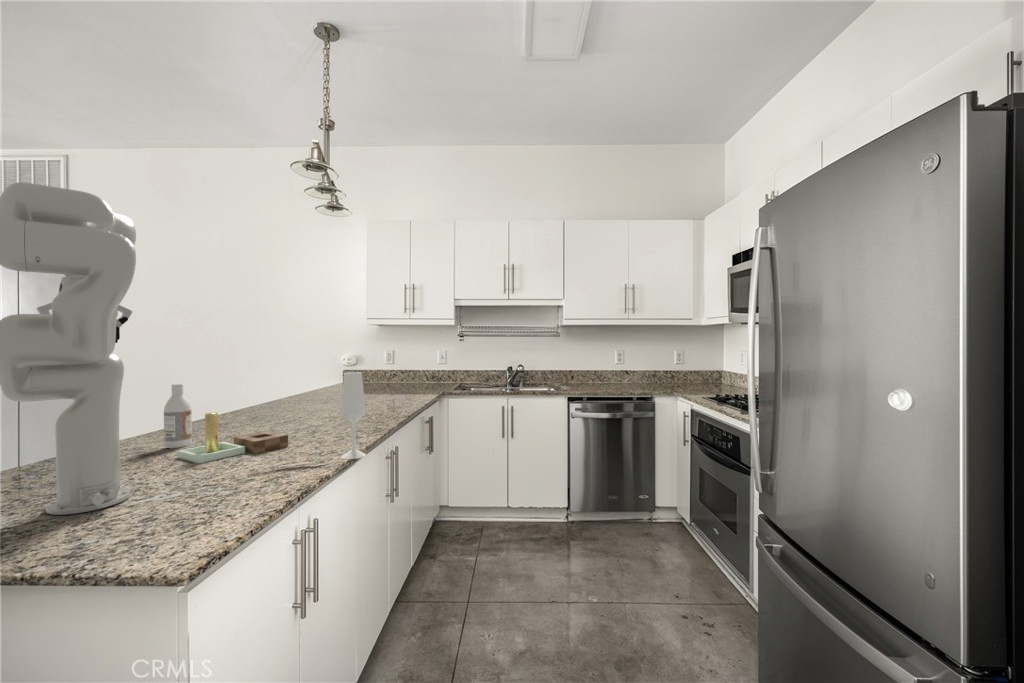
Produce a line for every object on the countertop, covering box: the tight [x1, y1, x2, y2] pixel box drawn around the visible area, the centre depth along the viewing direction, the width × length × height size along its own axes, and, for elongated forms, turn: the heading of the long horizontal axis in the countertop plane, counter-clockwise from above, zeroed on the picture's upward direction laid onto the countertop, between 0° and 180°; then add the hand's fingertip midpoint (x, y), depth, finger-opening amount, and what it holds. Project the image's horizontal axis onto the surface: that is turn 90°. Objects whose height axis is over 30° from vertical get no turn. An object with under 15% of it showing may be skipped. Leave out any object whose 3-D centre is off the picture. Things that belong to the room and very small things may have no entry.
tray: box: [177, 441, 246, 464], centre depth 127 cm, size 12×12×2 cm
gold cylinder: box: [204, 412, 219, 454], centre depth 126 cm, size 3×3×12 cm
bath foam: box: [163, 383, 193, 449], centre depth 139 cm, size 7×7×20 cm
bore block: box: [233, 430, 289, 454], centre depth 136 cm, size 12×10×4 cm
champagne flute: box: [340, 371, 367, 460], centre depth 127 cm, size 7×7×24 cm
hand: (88, 343), depth 108 cm, fingers open, 9 cm apart
